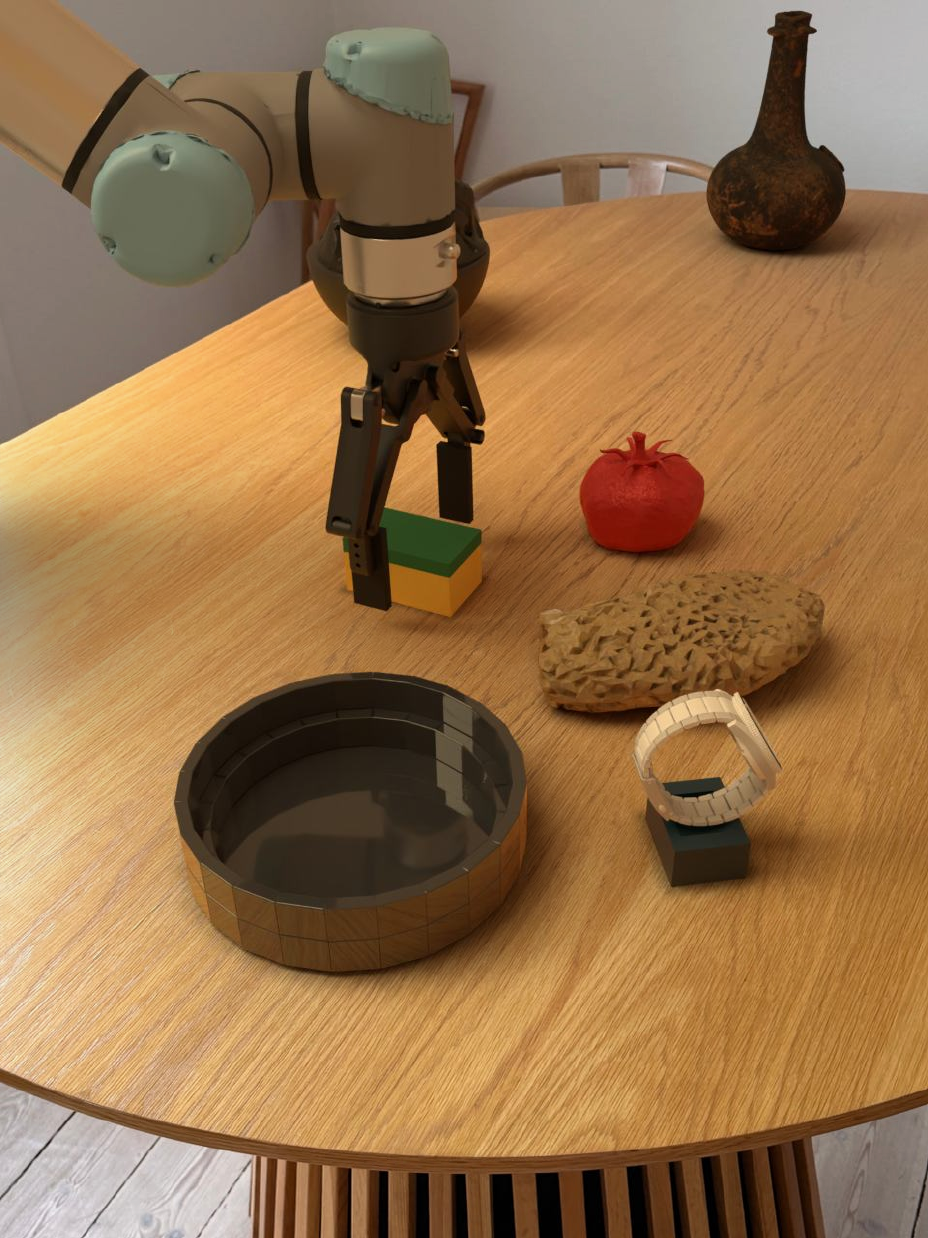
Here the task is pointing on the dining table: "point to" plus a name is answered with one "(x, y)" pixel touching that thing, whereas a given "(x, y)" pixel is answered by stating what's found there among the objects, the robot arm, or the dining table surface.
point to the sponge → (677, 641)
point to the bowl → (353, 820)
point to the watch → (704, 791)
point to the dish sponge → (428, 561)
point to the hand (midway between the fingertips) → (417, 559)
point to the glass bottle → (779, 159)
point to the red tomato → (641, 497)
